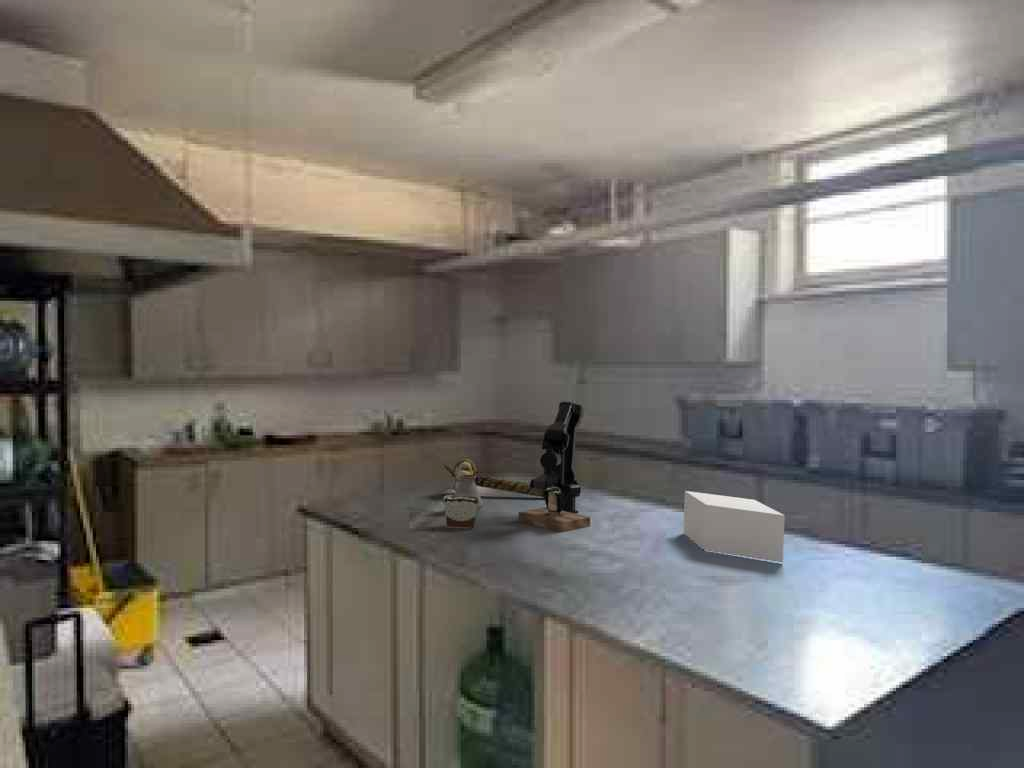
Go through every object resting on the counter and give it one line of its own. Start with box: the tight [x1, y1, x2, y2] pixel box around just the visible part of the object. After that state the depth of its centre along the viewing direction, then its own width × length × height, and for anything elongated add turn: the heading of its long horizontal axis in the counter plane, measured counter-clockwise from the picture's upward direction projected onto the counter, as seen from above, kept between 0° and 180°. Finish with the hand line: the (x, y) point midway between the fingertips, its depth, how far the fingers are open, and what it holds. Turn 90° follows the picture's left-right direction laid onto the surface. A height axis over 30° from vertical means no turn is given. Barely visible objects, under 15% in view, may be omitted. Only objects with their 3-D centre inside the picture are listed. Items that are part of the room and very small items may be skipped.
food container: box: [441, 493, 480, 529], centre depth 247 cm, size 12×6×10 cm, turn 84°
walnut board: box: [517, 506, 591, 533], centre depth 254 cm, size 14×20×3 cm
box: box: [683, 490, 786, 563], centre depth 227 cm, size 20×40×14 cm, turn 30°
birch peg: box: [548, 492, 560, 517], centre depth 254 cm, size 4×4×9 cm
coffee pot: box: [441, 464, 484, 513], centre depth 274 cm, size 21×12×15 cm, turn 38°
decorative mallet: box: [450, 458, 544, 498], centre depth 301 cm, size 15×42×16 cm, turn 96°
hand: (554, 511), depth 254 cm, fingers closed on birch peg, 4 cm apart
